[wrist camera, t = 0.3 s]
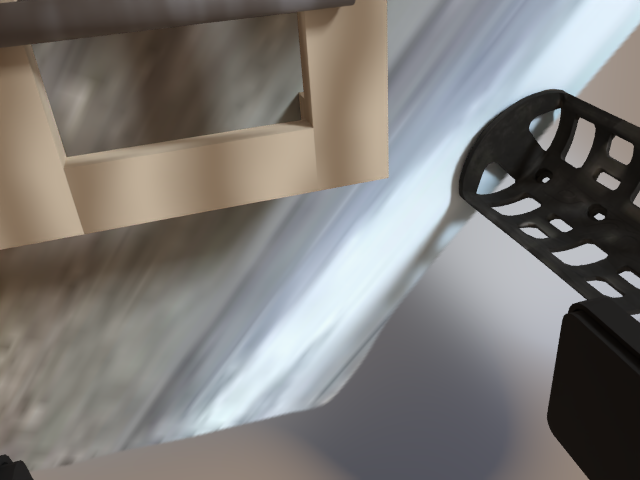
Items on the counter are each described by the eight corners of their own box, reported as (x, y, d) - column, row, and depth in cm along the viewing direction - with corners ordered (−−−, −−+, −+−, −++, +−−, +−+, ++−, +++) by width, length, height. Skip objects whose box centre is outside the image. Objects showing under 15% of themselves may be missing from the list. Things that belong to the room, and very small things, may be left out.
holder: (536, 59, 42) (815, 185, 26) (587, 110, 46) (853, 244, 30) (439, 182, 45) (637, 361, 29) (495, 219, 49) (695, 392, 33)
